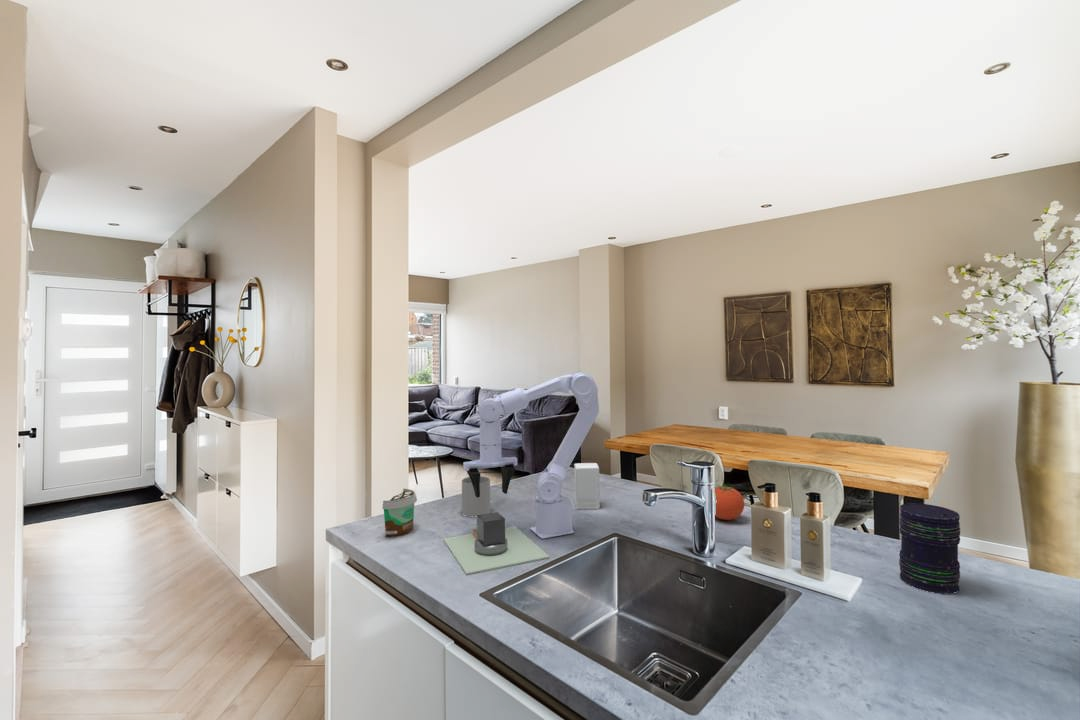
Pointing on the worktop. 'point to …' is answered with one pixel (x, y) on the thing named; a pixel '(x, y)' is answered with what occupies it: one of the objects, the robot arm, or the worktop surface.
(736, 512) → the tomato
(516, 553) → the tool mat
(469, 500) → the cup
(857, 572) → the worktop surface
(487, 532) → the dark grey cube
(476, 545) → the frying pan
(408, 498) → the food container
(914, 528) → the storage jar
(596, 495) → the supplement box
